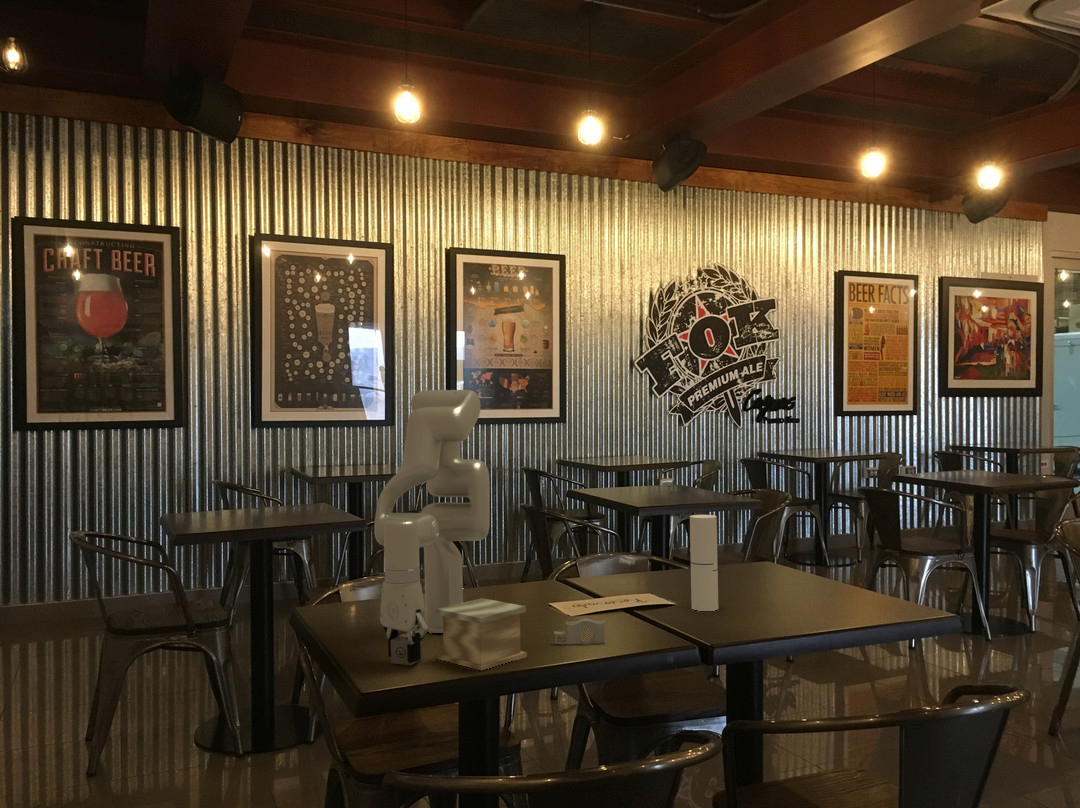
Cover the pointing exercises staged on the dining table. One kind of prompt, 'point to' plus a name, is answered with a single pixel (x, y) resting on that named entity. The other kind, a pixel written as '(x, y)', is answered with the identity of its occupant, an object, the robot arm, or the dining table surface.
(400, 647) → the gray face cube
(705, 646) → the dining table surface
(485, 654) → the display pedestal
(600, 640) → the garden wall model
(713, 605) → the cylindrical container
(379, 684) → the dining table surface
